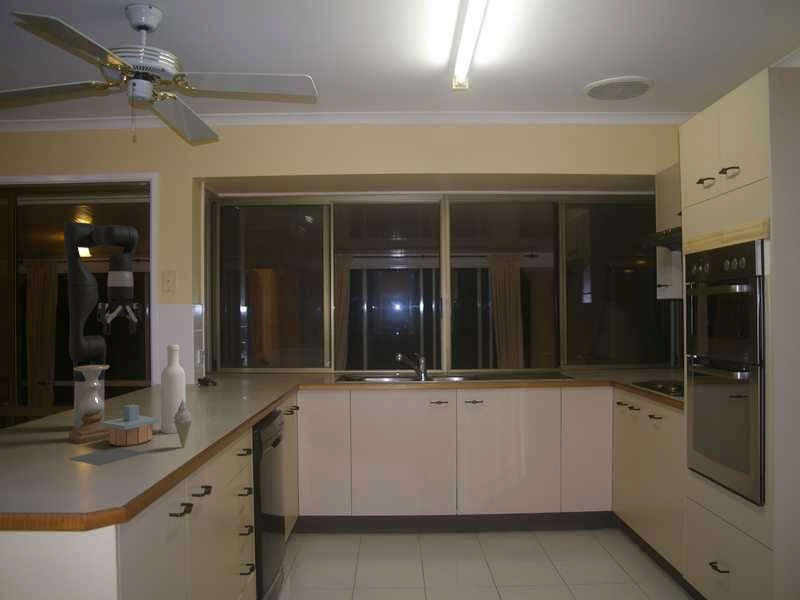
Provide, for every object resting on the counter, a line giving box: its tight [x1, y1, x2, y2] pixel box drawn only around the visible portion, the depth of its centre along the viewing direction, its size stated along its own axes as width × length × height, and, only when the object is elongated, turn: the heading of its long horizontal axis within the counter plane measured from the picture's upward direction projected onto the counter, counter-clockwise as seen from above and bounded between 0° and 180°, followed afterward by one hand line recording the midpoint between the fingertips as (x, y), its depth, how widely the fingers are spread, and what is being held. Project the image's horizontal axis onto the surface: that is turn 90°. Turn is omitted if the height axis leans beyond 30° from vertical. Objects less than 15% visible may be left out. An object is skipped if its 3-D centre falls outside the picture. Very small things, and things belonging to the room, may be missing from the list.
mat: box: [67, 446, 146, 467], centre depth 149 cm, size 15×14×1 cm
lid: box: [101, 404, 161, 430], centre depth 165 cm, size 12×12×6 cm
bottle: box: [160, 344, 187, 435], centre depth 181 cm, size 8×8×30 cm
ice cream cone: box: [174, 399, 193, 448], centre depth 157 cm, size 5×5×15 cm
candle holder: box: [68, 364, 110, 445], centre depth 172 cm, size 11×11×24 cm
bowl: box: [108, 424, 153, 447], centre depth 165 cm, size 12×12×6 cm
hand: (120, 334), depth 172 cm, fingers open, 8 cm apart
